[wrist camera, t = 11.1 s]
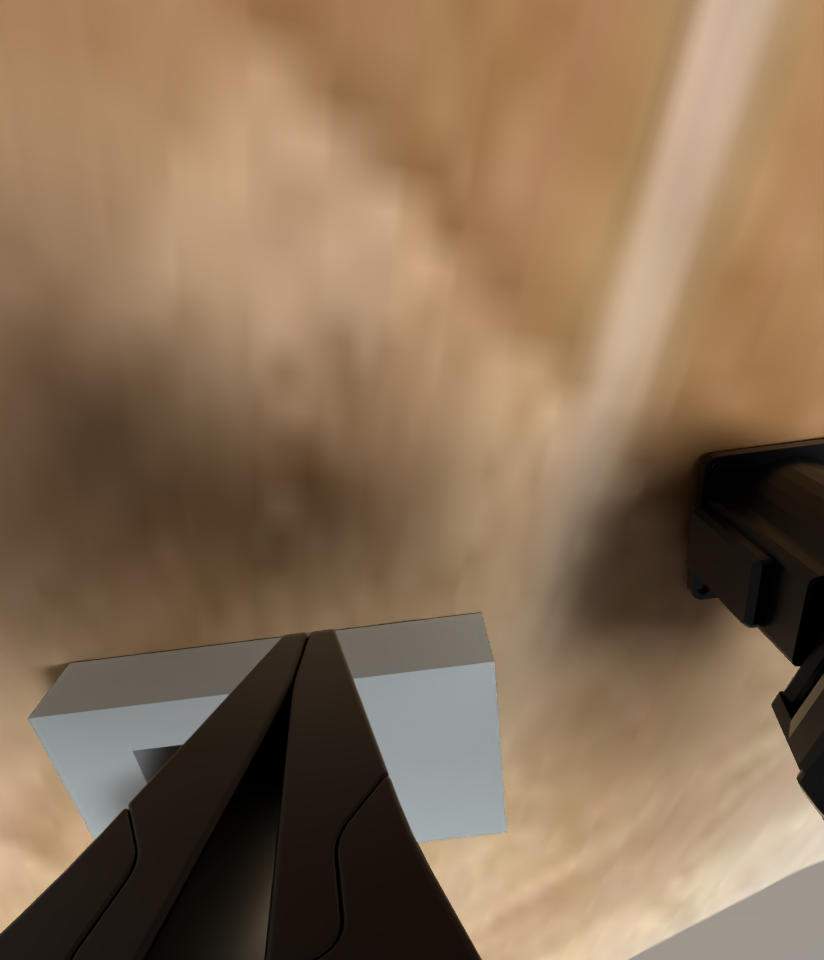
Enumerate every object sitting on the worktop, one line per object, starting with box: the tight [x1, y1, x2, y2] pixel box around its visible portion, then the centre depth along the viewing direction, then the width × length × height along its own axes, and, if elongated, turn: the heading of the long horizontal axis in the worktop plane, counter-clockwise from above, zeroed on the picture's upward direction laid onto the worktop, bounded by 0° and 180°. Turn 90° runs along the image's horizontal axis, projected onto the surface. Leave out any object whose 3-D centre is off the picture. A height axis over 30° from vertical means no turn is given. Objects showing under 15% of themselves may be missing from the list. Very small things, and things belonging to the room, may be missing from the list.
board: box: [28, 613, 507, 843], centre depth 24 cm, size 18×10×3 cm, turn 97°
